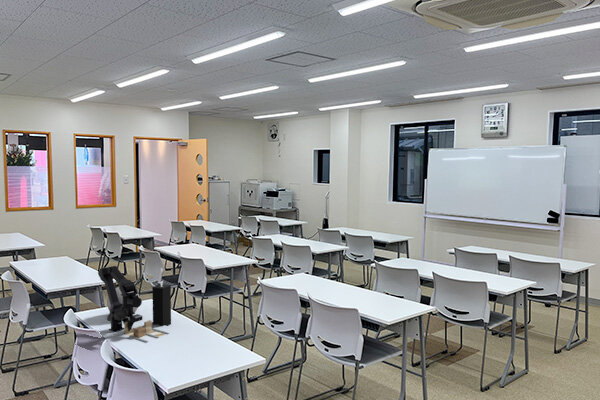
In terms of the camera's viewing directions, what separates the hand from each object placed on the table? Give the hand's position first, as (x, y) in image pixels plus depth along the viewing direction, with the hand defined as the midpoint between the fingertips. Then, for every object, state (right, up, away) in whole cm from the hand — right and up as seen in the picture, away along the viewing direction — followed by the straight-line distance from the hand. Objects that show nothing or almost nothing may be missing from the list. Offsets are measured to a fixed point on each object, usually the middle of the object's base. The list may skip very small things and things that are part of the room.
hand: (128, 330), depth 264 cm
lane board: (+14, -3, -4) cm, 14 cm away
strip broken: (+16, -3, -1) cm, 16 cm away
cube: (+8, -2, -5) cm, 10 cm away
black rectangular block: (+15, -2, +17) cm, 22 cm away
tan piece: (+5, -3, -3) cm, 6 cm away
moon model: (-15, -1, +33) cm, 36 cm away
